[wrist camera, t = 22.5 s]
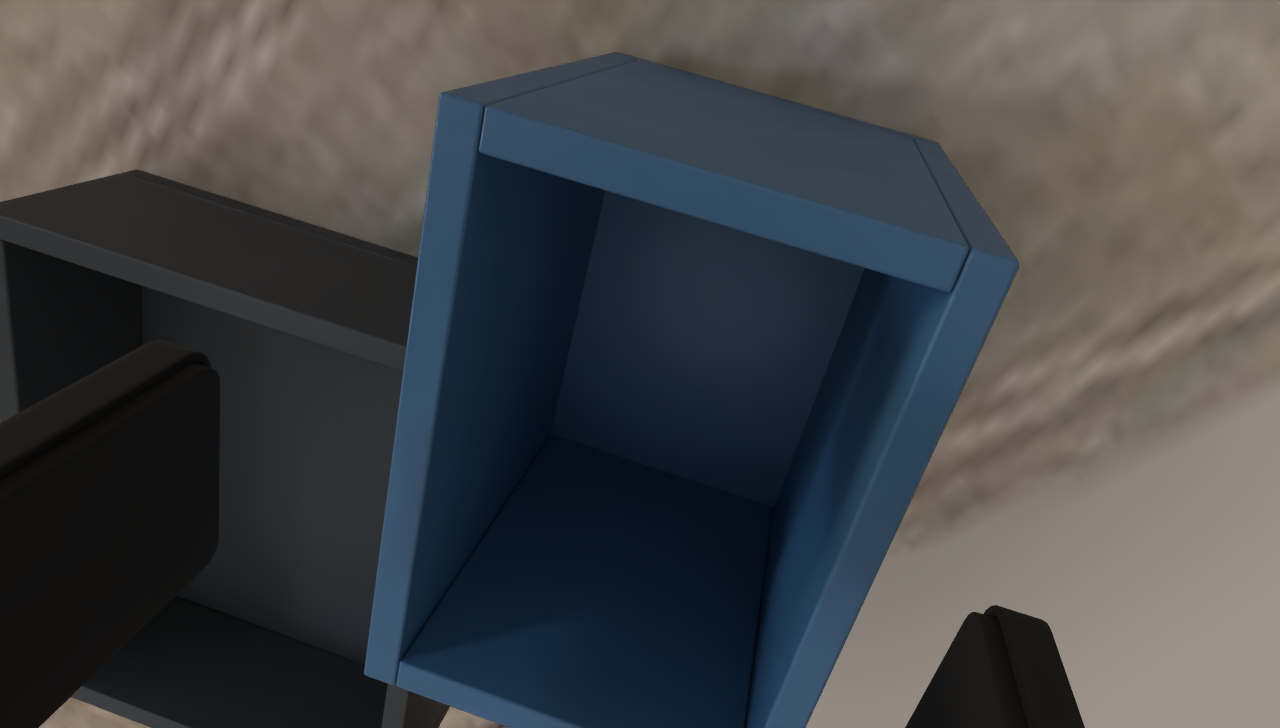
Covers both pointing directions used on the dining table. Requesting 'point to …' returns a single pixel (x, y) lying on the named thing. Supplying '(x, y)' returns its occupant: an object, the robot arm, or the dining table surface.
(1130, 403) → the dining table surface
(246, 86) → the dining table surface
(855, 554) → the blue bin
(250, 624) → the tote
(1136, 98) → the dining table surface
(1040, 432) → the dining table surface
